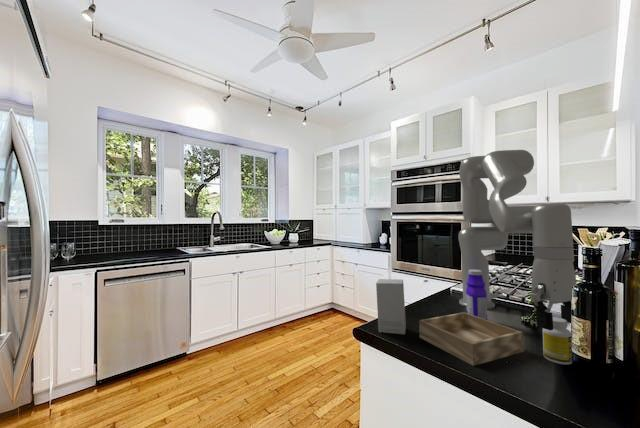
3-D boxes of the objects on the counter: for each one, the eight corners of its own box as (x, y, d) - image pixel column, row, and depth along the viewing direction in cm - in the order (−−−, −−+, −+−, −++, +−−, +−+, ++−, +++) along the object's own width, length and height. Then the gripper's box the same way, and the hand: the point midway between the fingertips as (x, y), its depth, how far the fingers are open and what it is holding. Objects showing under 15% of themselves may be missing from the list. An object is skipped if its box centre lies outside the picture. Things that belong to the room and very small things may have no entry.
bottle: (490, 326, 90) (488, 272, 90) (471, 325, 91) (469, 272, 91) (482, 319, 97) (480, 268, 97) (464, 318, 98) (462, 268, 98)
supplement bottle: (575, 367, 64) (573, 324, 64) (545, 361, 67) (543, 320, 67) (569, 357, 69) (568, 317, 69) (541, 352, 71) (540, 314, 72)
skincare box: (406, 327, 90) (404, 279, 90) (405, 335, 84) (403, 283, 84) (379, 325, 93) (378, 278, 93) (377, 332, 86) (375, 282, 87)
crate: (464, 328, 89) (464, 312, 89) (523, 351, 72) (522, 332, 72) (419, 337, 82) (419, 320, 82) (473, 365, 66) (472, 344, 66)
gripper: (557, 251, 75) (561, 316, 74) (514, 254, 69) (517, 325, 68) (592, 254, 68) (597, 325, 67) (548, 257, 62) (553, 336, 61)
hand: (557, 325), depth 67 cm, fingers open, 9 cm apart
